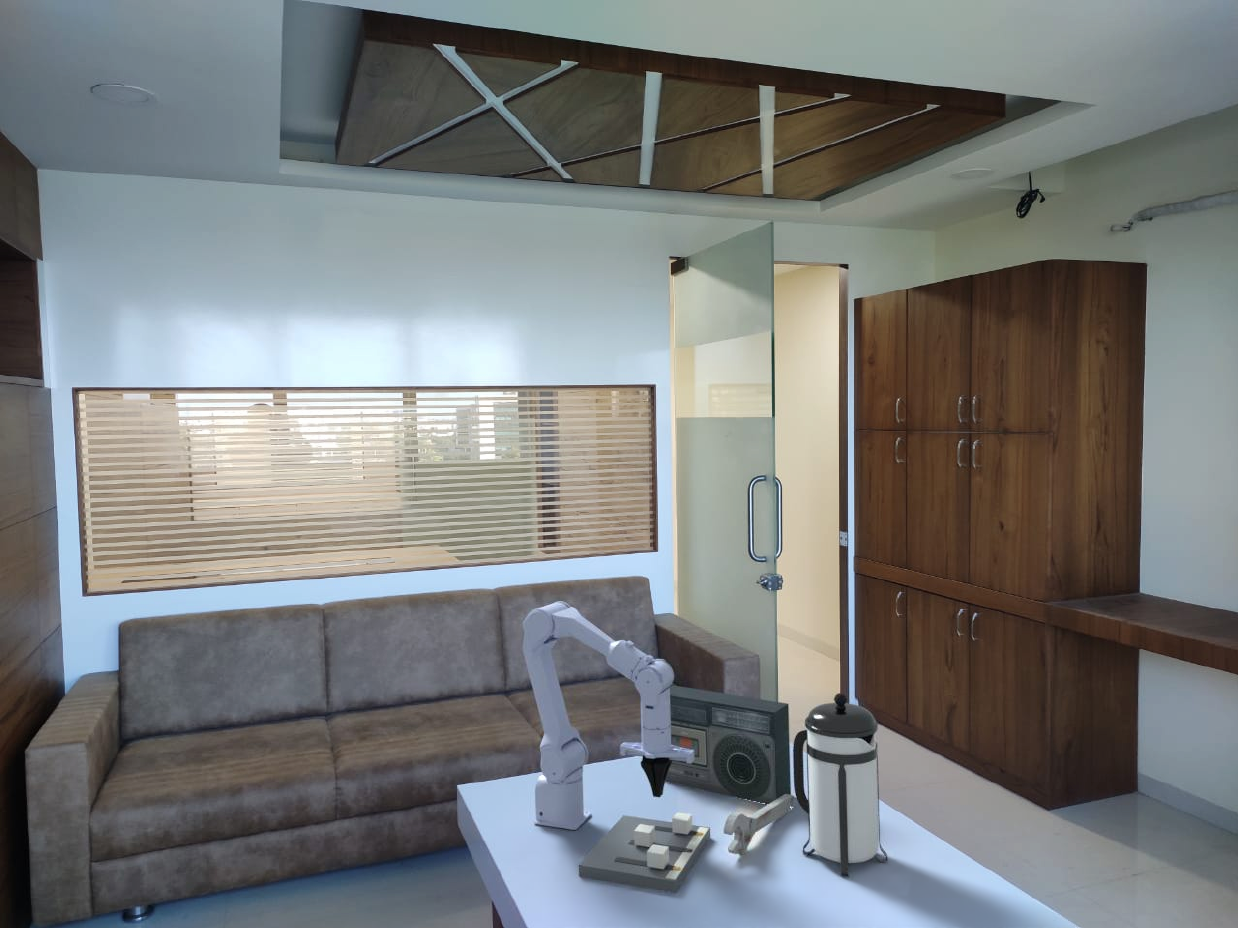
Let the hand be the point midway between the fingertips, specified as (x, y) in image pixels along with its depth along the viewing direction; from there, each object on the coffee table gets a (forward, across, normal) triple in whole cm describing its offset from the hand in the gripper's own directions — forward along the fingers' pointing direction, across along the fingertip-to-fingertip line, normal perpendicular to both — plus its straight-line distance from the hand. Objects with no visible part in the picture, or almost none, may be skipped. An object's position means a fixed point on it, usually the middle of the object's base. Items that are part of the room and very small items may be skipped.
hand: (658, 794), depth 165 cm
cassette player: (+9, +5, +28) cm, 30 cm away
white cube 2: (+6, 0, -7) cm, 9 cm away
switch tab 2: (+6, +5, 0) cm, 8 cm away
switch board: (+8, 0, -8) cm, 11 cm away
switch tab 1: (+6, +5, -14) cm, 16 cm away
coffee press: (+9, +33, +4) cm, 35 cm away
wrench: (+9, +18, +8) cm, 22 cm away
